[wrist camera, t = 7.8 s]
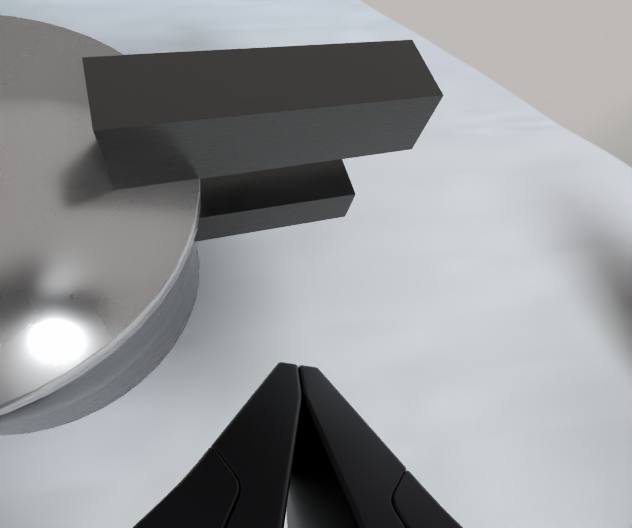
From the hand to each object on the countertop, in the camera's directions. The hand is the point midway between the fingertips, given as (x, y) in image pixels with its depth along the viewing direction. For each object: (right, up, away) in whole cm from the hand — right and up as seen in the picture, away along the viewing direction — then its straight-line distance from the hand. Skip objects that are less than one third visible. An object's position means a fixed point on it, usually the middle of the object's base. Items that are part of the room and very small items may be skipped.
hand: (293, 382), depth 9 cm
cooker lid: (-8, +6, +7) cm, 12 cm away
